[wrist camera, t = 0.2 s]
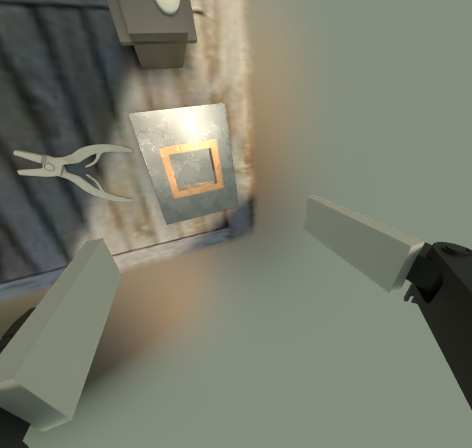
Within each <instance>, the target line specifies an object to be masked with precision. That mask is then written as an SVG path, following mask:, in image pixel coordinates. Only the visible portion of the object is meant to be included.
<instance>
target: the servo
mask: <svg viewBox="0 0 472 448" xmlns="http://www.w3.org/2000/svg"><path fill="white" fill-rule="evenodd" d="M107 2H108V6H109V9H110V12H111V15H112V18H113V21H114V24H115V28H116V31H117V34H118V37H119V40H120V43H121V45H133V46H134V48H135V51H136V53H137V56H138V59H139V61H140V64H141V66H142V69H143V70H147V69H163V68H179V67H182V65H183V60H184V54H185V48H186V43H196V42H197V37H196V31H195V25H194V20H193V14H192V8H191V2H190V0H107Z"/></svg>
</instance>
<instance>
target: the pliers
mask: <svg viewBox="0 0 472 448" xmlns="http://www.w3.org/2000/svg"><path fill="white" fill-rule="evenodd" d="M103 152H131V153H133V150H132V149H129V148H126V147H123V146H118V145H111V144H98V145H91V146H86V147H83V148H81V149H78V150H77V151H76V152H74V153H73V154H71V155H68V156H65V157H58V158H54V157H51V156H48V155H43V154H38V153H33V152H28V151H22V150H14V155H17V156H20V157H23V158H26V159H29V160H32V161H35V162H38V163H42V164H43V168H34V169H22V170H18V171H17V172H18V173H19V175H30V176H44V177H51V176H60V177H63V178H66V179H68V180H70V181H72V182H74V183H76V184H77V185H78V186H79V187H80V188H82V189H83V190H85V191H86V192H88V193H90V194H92V195H95V196H97V197H100V198H103V199H106V200H110V201H116V202H133V199H131V198H126V197H121V196H117V195H113V194H110V193H107V192H106V191H105V190H104V189H103V187H102V186H101V184H100V183H99V182H98V181H97V180H96V179H95V178H93V177H92V176H90V175H89V174H86V176H88V177H89V178H91V179H92V180H93V181H95V183H96V184H97V185H98V187H99V189H98V188H96V187H94V186H93V185H91V184H90V183H88V182H87V181H86V180H85V179H83V178H82V177H81V176H78V175H75V174H72V173H69V172H67V170H66V168H65V166H64V165H65V164H74V163H80V162H81V161H83V160H84V159H86V158H87V157H89V156H91V155H93V154H97V156H96V159H95V160H94V161H93V162H92V163H91V164H89V165H87V166H85V167H89V166H92V165H93V164H95V163H96V162H97V161H98V160H99V158H100V156H101V154H102V153H103Z"/></svg>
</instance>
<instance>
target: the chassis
mask: <svg viewBox="0 0 472 448" xmlns="http://www.w3.org/2000/svg"><path fill="white" fill-rule="evenodd" d="M128 115H129V118H130V121H131V124H132V126H133V129H134V132H135V135H136V138H137V141H138V143H139V146H140V149H141V152H142V155H143V158H144V160H145V163H146V166H147V169H148V172H149V175H150V178H151V180H152V183H153V186H154V189H155V192H156V195H157V197H158V200H159V203H160V206H161V209H162V212H163V214H164V217H165V220H166V223H167V225H168V224H172V223H176V222H180V221H184V220H188V219H192V218H196V217H200V216H203V215H207V214H211V213H215V212H219V211H223V210H227V209H231V208H235V207H239V205H238V198H237V190H236V183H235V175H234V168H233V160H232V153H231V145H230V138H229V130H228V123H227V115H226V108H225V103H219V104H210V105H201V106H192V107H183V108H174V109H165V110H156V111H148V112H139V113H130V114H128Z"/></svg>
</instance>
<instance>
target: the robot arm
mask: <svg viewBox="0 0 472 448" xmlns="http://www.w3.org/2000/svg"><path fill="white" fill-rule="evenodd" d="M304 230H305V231H306V232H307V233H309V234H310V235H312V236H313V237H314V238H316V239H317V240H318V241H320V242H321V243H322V244H324V245H325V246H326V247H328V248H329V249H330V250H332V251H333V252H335V253H336V254H337V255H338V256H340V257H341V258H342V259H344V260H345V261H346V262H348V263H349V264H351V265H352V266H353V267H355V268H356V269H358V270H359V271H360V272H361V273H363V274H364V275H366V276H367V277H368V278H369V279H371V280H372V281H373V282H375V283H376V284H378V285H379V286H380V287H381V288H383V289H384V290H386V291H387V292H388V293H391V292H394V291H396V290H399V289H401V288H402V286H403V284H404V282H405V280H406V279H407V280H409V281H410V282H412V284H411V285H410V287H409V289H408V291H407V293H406V295H405V296H404V301H408V300H409V298H410V296H414V298H413V299H412V303H416V304H418V306H419V308H420V310H421V312H422V314H423V316H424V318H425V320H426V322H427V323H428V325H429V327H430V329H431V331H432V333H433V335H434V337H435V339H436V341H437V343H438V345H439V347H440V349H441V351H442V353H443V355H444V357H445V359H446V361H447V362H448V364H449V366H450V368H451V370H452V372H453V374H454V376H455V378H456V380H457V382H458V384H459V386H460V388H461V390H462V392H463V394H464V396H465V398H466V400H467V402H468V403H469V405H470V407H471V409H472V250H470V249H468V248H465V247H462V246H459V245H456V244H452V243H446V242H437V243H434V244H433V245H430V244H428V243H425V242H423V241H421V240H419V239H417V238H414V237H412V236H410V235H407V234H405V233H403V232H401V231H398V230H396V229H394V228H391V227H389V226H387V225H385V224H382V223H380V222H378V221H376V220H373V219H371V218H368V217H366V216H364V215H362V214H359V213H357V212H355V211H353V210H350V209H348V208H346V207H343V206H341V205H339V204H337V203H334V202H332V201H330V200H327V199H325V198H323V197H321V196H318V195H312V196H308V197H307V204H306V211H305V220H304ZM121 276H122V275H121V273H120V271H119V269H118V267H117V265H116V263H115V261H114V259H113V257H112V255H111V253H110V252H109V250H108V248H107V246H106V244H105V242H104V240H103V238H102V239H97V240H92V241H87V242H86V243H85V244H84V246H83V247H82V248H81V250H80V251H79V252H78V254H77V255H76V256H75V257H74V259H73V260H72V261H71V263H70V264H69V265H68V267H67V268H66V269H65V270H64V272H63V273H62V274H61V276H60V277H59V278H58V280H57V281H56V282H55V283H54V285H53V286H52V287H51V289H50V290H49V291H48V293H47V294H46V295H45V296H44V298H43V299H42V300H41V302H40V303H39V304H38V306H37V307H35V308H32V309H29V310H28V311H27V312H26V313H25V314H24V315H22V316H21V317H20V318H19V319H18V320H16V321H15V322H14V323H13V324H12V325H11V327H10V328H9V329H8V330H7V331H6V333H5V334H4V335H3V336H2V340H0V448H29V447H28V446H27V445H26V444H25V443H24V442H23V439H24V436H25V434H26V432H27V430H28V428H29V426H30V425H31V426H33V427H34V428H36V429H38V430H40V431H42V432H43V431H45V430H48V429H50V428H53V427H55V426H58V425H60V424H63V423H65V422H68V421H70V420H72V418H73V415H74V412H75V409H76V406H77V403H78V400H79V397H80V395H81V392H82V389H83V386H84V383H85V380H86V377H87V374H88V371H89V368H90V366H91V363H92V360H93V357H94V354H95V351H96V348H97V345H98V343H99V340H100V337H101V334H102V331H103V328H104V325H105V322H106V319H107V317H108V314H109V311H110V308H111V305H112V302H113V299H114V296H115V293H116V291H117V287H118V285H119V282H120V279H121Z"/></svg>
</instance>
